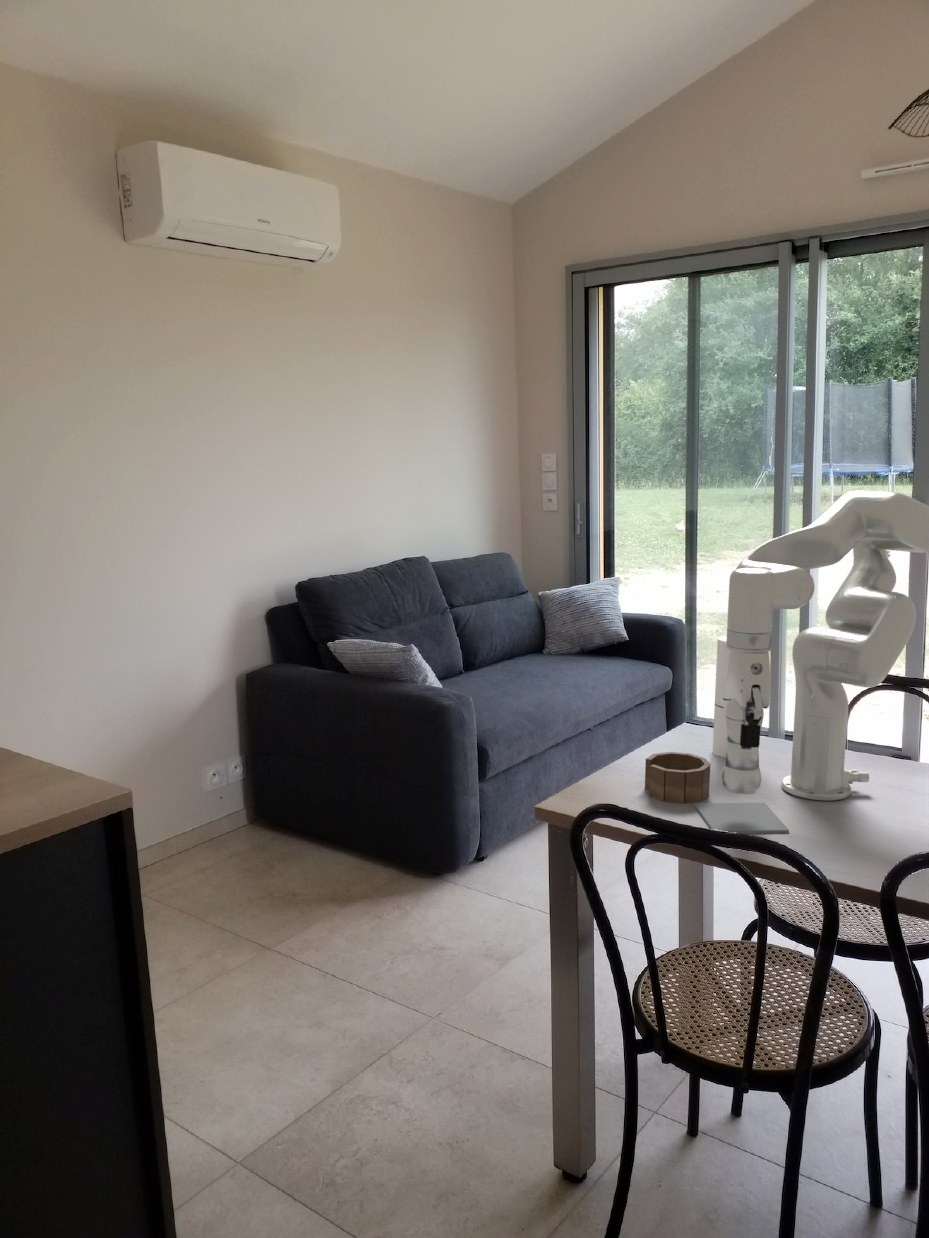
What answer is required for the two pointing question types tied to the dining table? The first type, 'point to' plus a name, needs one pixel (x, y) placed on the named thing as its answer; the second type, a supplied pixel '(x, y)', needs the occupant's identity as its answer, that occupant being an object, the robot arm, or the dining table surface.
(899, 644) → the robot arm
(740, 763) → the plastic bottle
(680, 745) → the dining table surface
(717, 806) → the rubber mat
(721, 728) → the cylindrical container
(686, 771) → the ring holder
